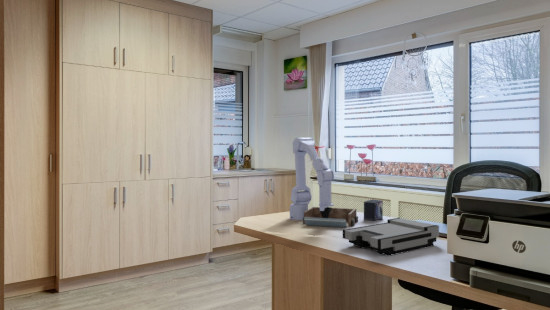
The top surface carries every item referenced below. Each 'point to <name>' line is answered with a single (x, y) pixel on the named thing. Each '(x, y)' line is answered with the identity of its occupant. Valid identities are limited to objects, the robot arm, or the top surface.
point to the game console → (394, 236)
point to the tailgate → (325, 222)
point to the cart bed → (334, 214)
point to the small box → (373, 210)
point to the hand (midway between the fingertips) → (325, 222)
